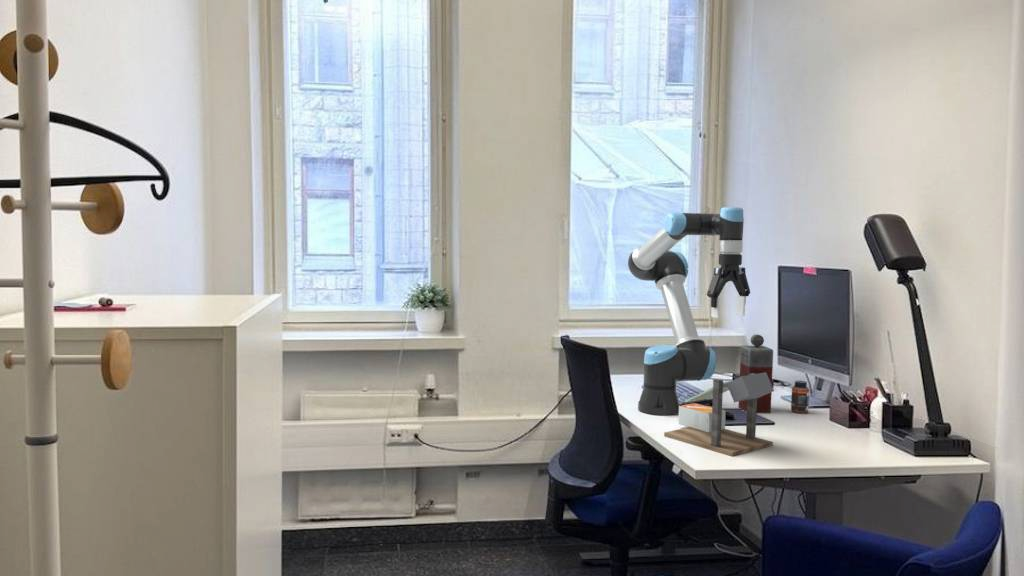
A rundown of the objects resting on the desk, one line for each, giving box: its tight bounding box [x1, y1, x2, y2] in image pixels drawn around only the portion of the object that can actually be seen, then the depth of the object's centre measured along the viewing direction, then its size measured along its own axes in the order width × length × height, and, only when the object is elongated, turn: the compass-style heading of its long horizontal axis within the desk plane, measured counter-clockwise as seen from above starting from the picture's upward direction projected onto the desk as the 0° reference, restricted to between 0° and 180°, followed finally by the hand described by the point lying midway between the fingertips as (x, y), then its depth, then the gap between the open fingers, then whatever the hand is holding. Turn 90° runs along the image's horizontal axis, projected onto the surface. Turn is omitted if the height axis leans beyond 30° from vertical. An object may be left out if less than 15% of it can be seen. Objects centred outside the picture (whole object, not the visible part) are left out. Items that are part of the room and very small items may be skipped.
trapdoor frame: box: [663, 373, 774, 457], centre depth 238 cm, size 20×26×21 cm
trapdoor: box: [684, 372, 775, 403], centre depth 235 cm, size 14×23×7 cm, turn 37°
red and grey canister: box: [738, 333, 774, 414], centre depth 281 cm, size 9×11×28 cm
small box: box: [678, 402, 726, 432], centre depth 251 cm, size 8×6×13 cm
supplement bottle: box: [790, 380, 810, 414], centre depth 279 cm, size 6×6×11 cm
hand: (728, 316), depth 258 cm, fingers open, 13 cm apart
